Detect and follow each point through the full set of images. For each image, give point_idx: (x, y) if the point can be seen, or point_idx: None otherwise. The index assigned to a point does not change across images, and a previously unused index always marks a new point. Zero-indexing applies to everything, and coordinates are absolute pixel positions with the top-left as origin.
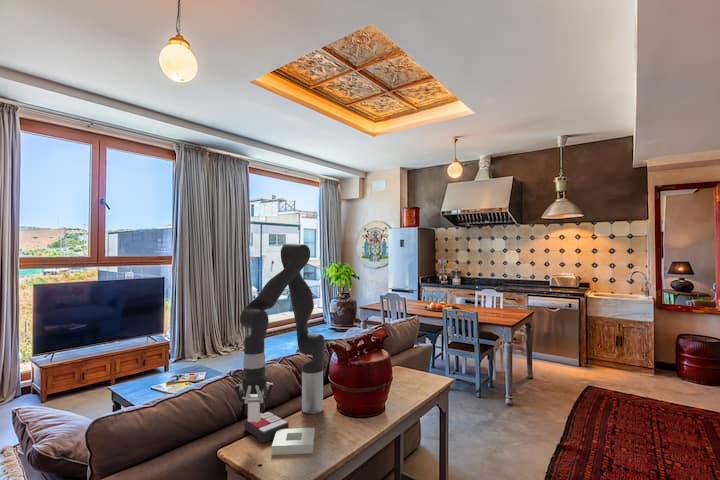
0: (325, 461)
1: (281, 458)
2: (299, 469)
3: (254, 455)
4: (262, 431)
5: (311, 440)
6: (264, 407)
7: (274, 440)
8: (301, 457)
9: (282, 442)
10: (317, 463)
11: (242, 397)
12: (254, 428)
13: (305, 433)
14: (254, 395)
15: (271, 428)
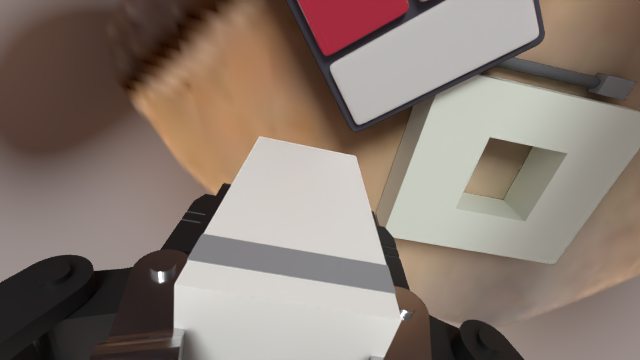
0: (543, 290)
1: (408, 241)
2: (448, 305)
3: None
4: (351, 115)
5: (565, 237)
6: (393, 249)
7: (404, 192)
8: (479, 253)
9: (436, 219)
10: (514, 293)
11: (57, 346)
12: (300, 29)
13: (576, 169)
14: (264, 344)
15: (411, 99)
